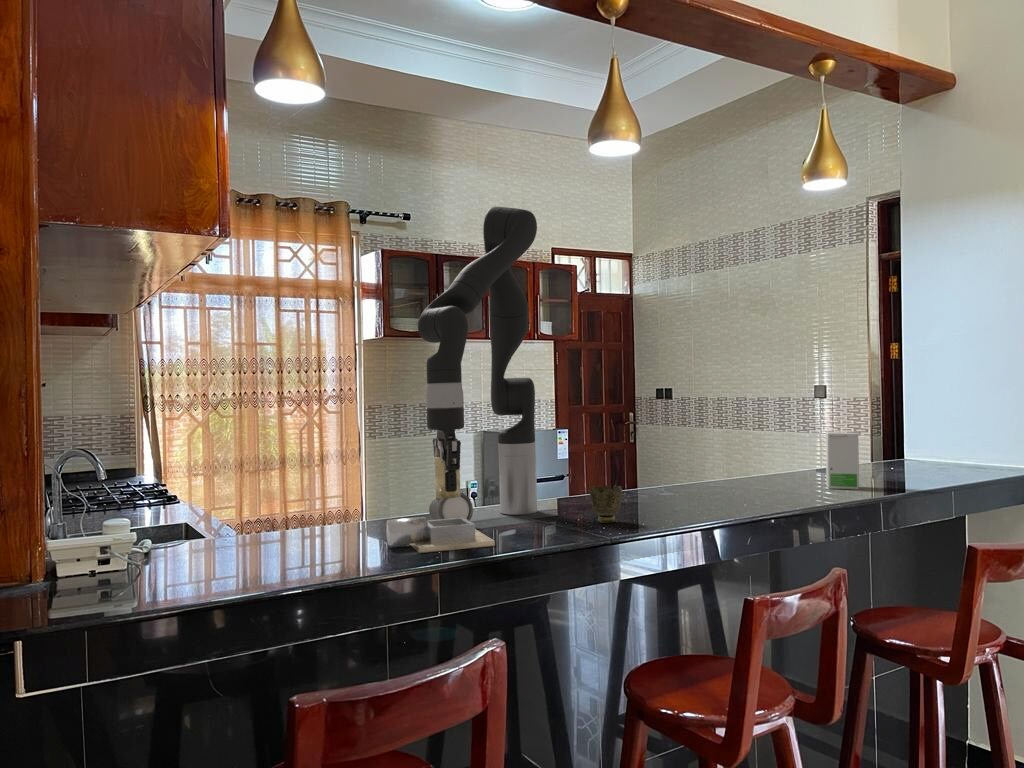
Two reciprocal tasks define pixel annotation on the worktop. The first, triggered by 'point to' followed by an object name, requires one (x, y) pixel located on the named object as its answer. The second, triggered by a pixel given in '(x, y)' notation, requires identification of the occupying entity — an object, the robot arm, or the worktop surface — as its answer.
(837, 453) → the skincare box
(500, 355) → the robot arm
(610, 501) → the cup
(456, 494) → the brass cylinder plug
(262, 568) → the worktop surface
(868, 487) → the worktop surface
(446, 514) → the pipe fitting
